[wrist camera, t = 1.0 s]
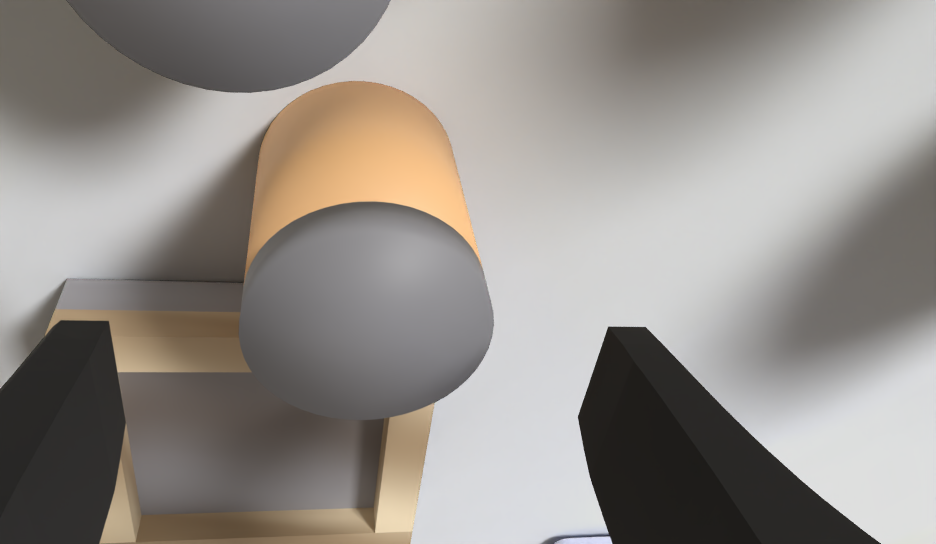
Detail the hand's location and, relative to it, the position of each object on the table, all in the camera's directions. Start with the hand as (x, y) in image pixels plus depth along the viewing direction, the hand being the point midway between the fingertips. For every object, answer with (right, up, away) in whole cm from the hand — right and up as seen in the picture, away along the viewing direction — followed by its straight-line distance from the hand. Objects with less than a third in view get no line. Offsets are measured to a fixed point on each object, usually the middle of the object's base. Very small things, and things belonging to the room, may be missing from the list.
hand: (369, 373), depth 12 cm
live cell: (-1, +4, +5) cm, 6 cm away
